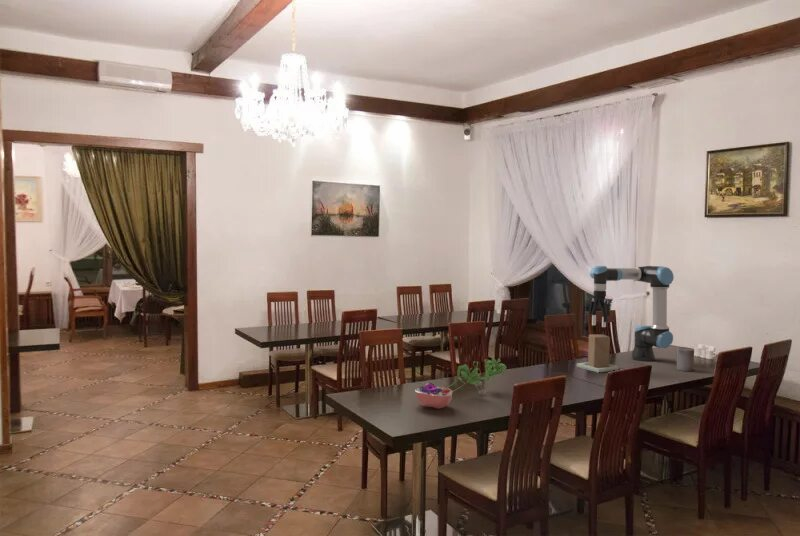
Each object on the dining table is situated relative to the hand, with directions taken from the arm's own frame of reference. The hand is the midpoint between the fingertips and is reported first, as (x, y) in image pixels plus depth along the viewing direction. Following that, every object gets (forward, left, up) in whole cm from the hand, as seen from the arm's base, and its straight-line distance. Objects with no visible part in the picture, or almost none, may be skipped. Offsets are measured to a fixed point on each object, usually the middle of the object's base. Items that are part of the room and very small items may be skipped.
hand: (598, 326), depth 372 cm
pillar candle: (-48, +27, -27) cm, 61 cm away
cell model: (+139, +28, -27) cm, 144 cm away
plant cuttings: (+106, +15, -27) cm, 110 cm away
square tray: (0, 0, -27) cm, 27 cm away
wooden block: (-1, 0, -26) cm, 26 cm away
